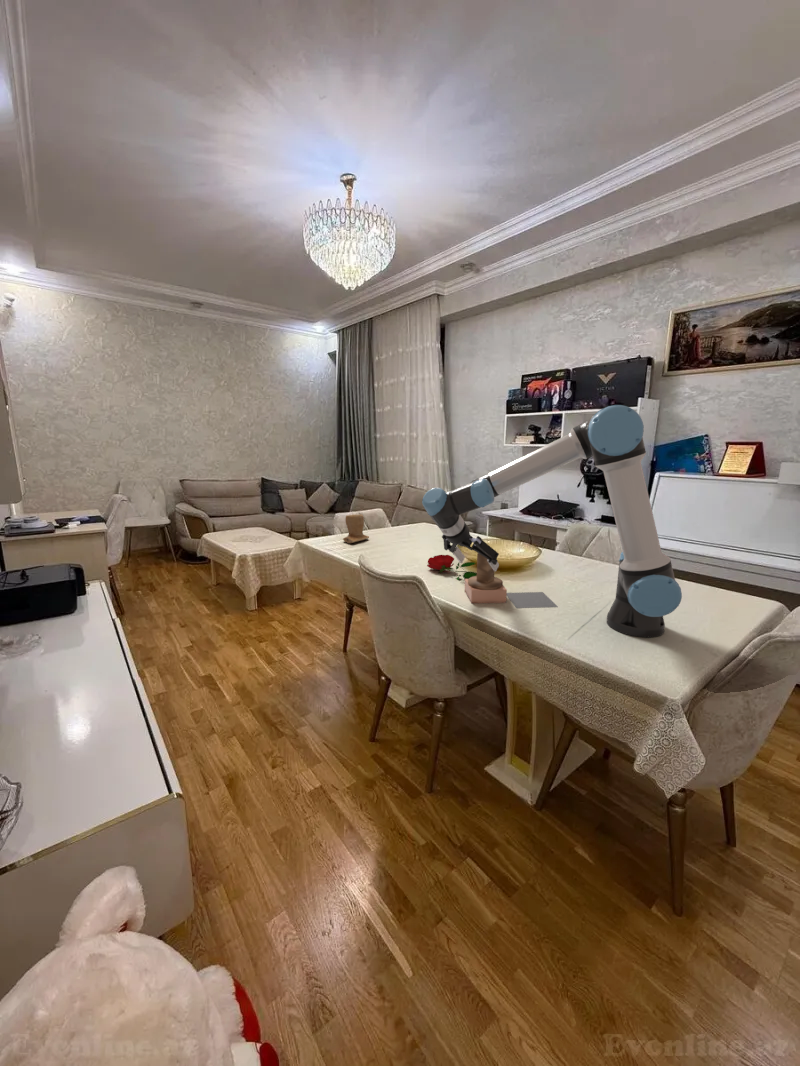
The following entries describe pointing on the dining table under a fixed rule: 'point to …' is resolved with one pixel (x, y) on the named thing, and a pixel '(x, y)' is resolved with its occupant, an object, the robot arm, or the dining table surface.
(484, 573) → the lid
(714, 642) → the dining table surface
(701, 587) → the dining table surface
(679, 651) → the dining table surface
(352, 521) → the wooden stamp
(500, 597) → the dish
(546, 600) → the mat
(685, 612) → the dining table surface
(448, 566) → the flower
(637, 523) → the robot arm
